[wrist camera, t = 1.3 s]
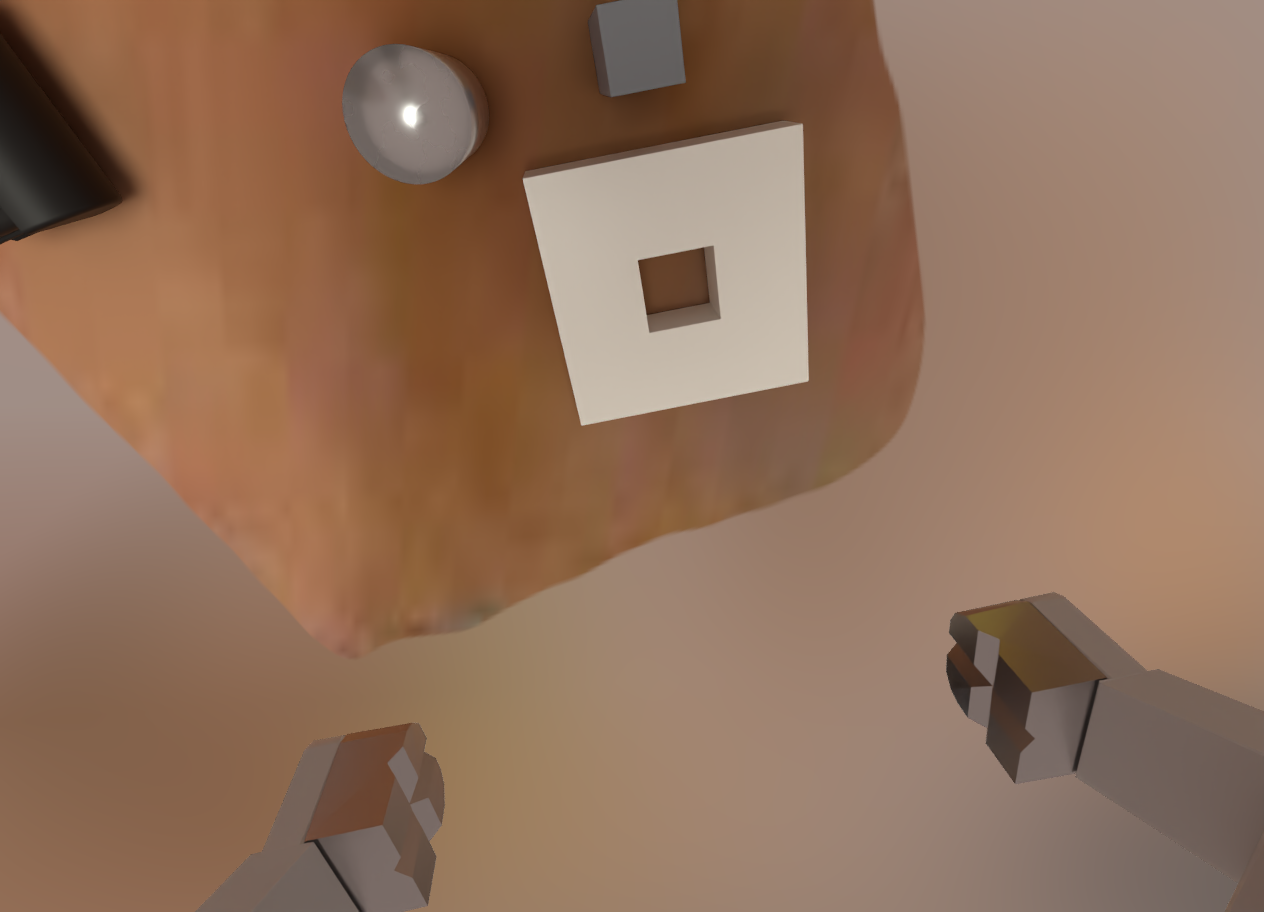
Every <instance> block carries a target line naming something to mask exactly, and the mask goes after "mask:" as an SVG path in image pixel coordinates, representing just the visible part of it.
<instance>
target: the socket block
mask: <svg viewBox="0 0 1264 912" xmlns="http://www.w3.org/2000/svg"><path fill="white" fill-rule="evenodd" d="M523 183H524V187H525V191H526V195H527V199H528V204H529V208H530V212H531V216H532V220H533V225H534V229H535V233H536V237H537V241H538V246H539V250H540V254H541V258H542V262H543V267H544V271H545V275H546V279H547V283H548V288H549V292H550V296H551V300H552V304H553V308H554V313H555V317H556V321H557V325H558V329H559V334H560V338H561V342H562V346H563V350H564V355H565V359H566V363H567V367H568V371H569V376H570V380H571V384H572V388H573V392H574V397H575V401H576V405H577V409H578V413H579V418H580V422H581V426H582V425H588V424H593V423H598V422H603V421H608V420H613V419H618V418H623V417H628V416H633V415H639V414H644V413H649V412H654V411H659V410H664V409H669V408H674V407H679V406H684V405H689V404H695V403H700V402H705V401H710V400H715V399H720V398H725V397H730V396H735V395H740V394H746V393H751V392H756V391H761V390H766V389H771V388H776V387H781V386H786V385H791V384H796V383H802V382H807V381H809V375H808V331H807V286H806V242H805V197H804V153H803V124H801V123H796V122H790V121H784V120H783V121H778V122H773V123H768V124H763V125H758V126H753V127H748V128H743V129H738V130H732V131H727V132H722V133H717V134H712V135H707V136H702V137H697V138H692V139H687V140H681V141H676V142H671V143H666V144H661V145H656V146H651V147H646V148H641V149H636V150H631V151H625V152H620V153H615V154H610V155H605V156H600V157H595V158H590V159H585V160H580V161H574V162H569V163H564V164H559V165H554V166H549V167H544V168H539V169H534V170H529V171H525V173H524V176H523ZM702 247H704V253H705V262H706V272H707V281H708V291H709V300H710V303H706V304H701V305H696V306H691V307H686V308H680V309H675V310H670V311H665V312H660V313H655V314H650V315H646V309H645V303H644V296H643V290H642V284H641V278H640V271H639V265H638V260H641V259H646V258H651V257H657V256H662V255H667V254H672V253H677V252H682V251H687V250H692V249H697V248H702Z"/></svg>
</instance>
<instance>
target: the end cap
mask: <svg viewBox="0 0 1264 912" xmlns="http://www.w3.org/2000/svg"><path fill="white" fill-rule="evenodd" d="M121 202H122V197H121V195H120V194H119V193H118V191H117V190H116V189H115V187H114V186H113V185H112V183H111V182H110V181H109V179H108V178H107V177H106V175H105V174H104V173H103V171H102V170H101V169H100V167H99V166H98V164H97V163H96V162H95V160H94V159H93V158H92V156H91V155H90V154H89V152H88V151H87V150H86V148H85V147H84V146H83V144H82V143H81V142H80V140H79V139H78V138H77V136H76V135H75V134H74V132H73V131H72V129H71V128H70V127H69V125H68V124H67V123H66V121H65V120H64V119H63V117H62V116H61V115H60V113H59V112H58V111H57V109H56V108H55V107H54V105H53V104H52V103H51V101H50V100H49V99H48V97H47V96H46V94H45V93H44V92H43V90H42V89H41V88H40V86H39V85H38V84H37V82H36V81H35V80H34V78H33V77H32V76H31V74H30V73H29V72H28V70H27V69H26V68H25V66H24V65H23V63H22V62H21V61H20V59H19V58H18V57H17V55H16V54H15V53H14V51H13V50H12V49H11V47H10V46H9V45H8V43H7V42H6V41H5V39H4V38H3V37H2V35H1V34H0V244H2V243H4V242H6V241H9V240H11V239H12V240H15V241H19V240H21V239H23V238H26V237H28V236H30V235H33V234H35V233H37V232H40V231H44V230H47V229H51V228H54V227H57V226H61V225H64V224H68V223H71V222H75V221H78V220H82V219H85V218H88V217H92V216H95V215H98V214H100V213H103V212H105V211H107V210H109V209H111V208H113V207H115V206H117V205H119V204H120V203H121Z"/></svg>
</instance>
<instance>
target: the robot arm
mask: <svg viewBox="0 0 1264 912" xmlns="http://www.w3.org/2000/svg"><path fill="white" fill-rule="evenodd" d="M949 633H950V635H951V636H952V637H953V639H954V640H955V641H956V642H957V643H956V645H955V646H954V647H953V648H952V649H951V651H950V652H949V653H948V654H947V665H946V672H947V676H948V680H949V684H950V688H951V690H952V693H953V695H954V696H955V699H956V700H957V703H958V704H959V705H960V707H961V709H962V710H963V712H964V713H965V715H966V716H967V717H968V718H969V719H971V720H973V721H975V722H976V723H978V724H980V725H982V726H984V727H986V728H987V735H986V744H987V746H988V747H989V748H990V750H991V751H992V752H993V754H994V755H995V757H996V758H997V760H998V761H999V762H1000V764H1001V765H1002V766H1003V768H1004V769H1005V771H1006V772H1007V773H1008V775H1009V776H1010V778H1011V779H1012V780H1013V782H1014V783H1015V784H1019V783H1024V782H1030V781H1036V780H1041V779H1047V778H1053V777H1059V776H1064V775H1070V774H1075V773H1076V776H1075V777H1076V778H1078V779H1079V780H1081V781H1082V782H1084V783H1086V784H1087V785H1089V786H1090V787H1092V788H1093V789H1095V790H1096V791H1098V792H1099V793H1101V794H1102V795H1104V796H1105V797H1107V798H1108V799H1110V800H1112V801H1113V802H1114V803H1116V804H1118V805H1119V806H1121V807H1122V808H1124V809H1125V810H1127V811H1128V812H1130V813H1132V814H1133V815H1134V816H1136V817H1138V818H1139V819H1141V820H1142V821H1143V822H1145V823H1147V824H1148V825H1150V826H1151V827H1153V828H1154V829H1156V830H1157V831H1159V832H1160V833H1162V834H1163V835H1165V836H1166V837H1168V838H1169V839H1171V840H1173V841H1174V842H1175V843H1177V844H1179V845H1180V846H1182V847H1183V848H1185V849H1186V850H1188V851H1189V852H1191V853H1192V854H1194V855H1195V856H1197V857H1199V858H1200V859H1201V860H1203V861H1204V862H1206V863H1208V864H1209V865H1211V866H1212V867H1214V868H1215V869H1217V870H1218V871H1220V872H1221V873H1223V874H1224V875H1226V876H1228V877H1229V878H1230V879H1232V880H1233V881H1235V882H1237V883H1238V885H1237V887H1236V889H1235V891H1234V893H1233V895H1232V897H1231V899H1230V901H1229V903H1228V905H1227V907H1226V910H1225V912H1264V711H1262V710H1259V709H1256V708H1254V707H1252V706H1249V705H1247V704H1244V703H1242V702H1239V701H1237V700H1234V699H1231V698H1229V697H1227V696H1224V695H1222V694H1219V693H1217V692H1214V691H1212V690H1209V689H1206V688H1204V687H1202V686H1199V685H1197V684H1194V683H1191V682H1189V681H1187V680H1184V679H1182V678H1179V677H1177V676H1174V675H1172V674H1169V673H1167V672H1164V671H1161V670H1159V669H1157V670H1151V671H1147V670H1146V669H1145V668H1144V667H1143V666H1141V665H1140V664H1139V663H1138V662H1137V661H1136V660H1135V659H1134V658H1132V657H1131V656H1130V655H1129V654H1128V653H1127V652H1126V651H1125V650H1124V649H1122V648H1121V647H1120V646H1119V645H1118V644H1117V643H1116V642H1115V641H1113V640H1112V639H1111V638H1110V637H1109V636H1108V635H1107V634H1106V633H1104V632H1103V631H1102V630H1101V629H1100V628H1099V627H1098V626H1097V625H1095V624H1094V623H1093V622H1092V621H1091V620H1090V619H1089V618H1088V617H1086V616H1085V615H1084V614H1083V613H1082V612H1081V611H1080V610H1079V609H1078V608H1076V607H1075V606H1074V605H1073V604H1072V603H1071V602H1070V601H1069V600H1067V599H1066V598H1065V597H1064V596H1062V595H1060V594H1057V593H1054V592H1053V593H1048V594H1043V595H1038V596H1034V597H1029V598H1025V599H1020V600H1014V601H1009V602H1005V603H1000V604H995V605H990V606H986V607H981V608H976V609H971V610H967V611H962V612H957V613H955V614H954V616H953V617H952V619H951V620H950V629H949ZM426 739H427V738H426V736H425V734H424V732H423V730H422V728H421V726H420V724H419V723H409V724H403V725H398V726H392V727H385V728H380V729H374V730H368V731H362V732H357V733H351V734H347V735H343V736H338V737H332V738H326V739H320V740H315V741H313V742H312V743H311V744H310V745H309V746H308V747H307V748H306V749H305V751H304V752H303V755H302V758H301V760H300V762H299V764H298V767H297V769H296V772H295V774H294V777H293V779H292V781H291V784H290V786H289V788H288V791H287V793H286V795H285V798H284V800H283V803H282V805H281V808H280V810H279V812H278V815H277V817H276V819H275V822H274V824H273V827H272V829H271V832H270V834H269V836H268V839H267V841H266V843H265V846H264V848H263V850H262V852H260V853H255V854H251V855H250V856H249V857H248V858H247V859H246V860H245V861H244V862H243V863H242V864H241V865H240V866H239V867H238V868H237V869H236V871H235V872H233V873H232V875H230V877H229V878H228V879H227V880H226V881H225V882H224V883H223V884H222V885H221V886H220V887H219V888H218V889H217V890H216V891H215V892H214V893H213V894H212V895H211V896H210V897H209V898H208V899H207V900H206V901H205V902H204V903H203V904H202V905H201V906H200V907H199V908H198V909H197V910H196V912H404V911H408V910H412V909H416V908H421V907H425V906H428V901H429V896H430V890H431V884H432V879H433V873H434V867H435V861H436V855H435V853H434V851H433V849H432V846H431V844H430V842H429V841H430V840H431V839H432V837H433V836H434V835H435V833H436V832H437V831H438V829H439V828H440V827H441V825H442V819H443V813H444V806H445V804H444V803H445V802H444V781H443V777H442V773H441V769H440V766H439V764H438V762H437V760H436V758H435V757H433V756H431V755H429V754H427V753H425V752H424V749H425V744H426Z"/></svg>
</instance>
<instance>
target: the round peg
mask: <svg viewBox="0 0 1264 912" xmlns="http://www.w3.org/2000/svg"><path fill="white" fill-rule="evenodd" d="M342 105H343V115H344V120H345V124H346V127H347V130H348V133H349V135H350V137H351V139H352V141H353V143H354V145H355V147H356V148H357V149H358V151H359V152H360V154H361V155H362V156H363V157H364V158H365V159H366V161H367V162H368V163H370V164H371V165H372V166H373V167H374V168H375V169H377V170H378V171H379V172H381V173H382V174H384V175H386V176H388V177H390V178H392V179H394V180H397V181H400V182H404V183H409V184H426V183H431V182H435V181H437V180H440V179H442V178H444V177H445V176H447V175H448V174H450V173H451V172H452V171H453V170H454V169H456V168H457V167H458V166H459V165H460V164H461V163H463V162H464V161H465V160H466V159H467V158H468V157H470V156H471V155H472V154H473V153H474V152H475V151H476V150H477V149H478V148H479V147H480V145H481V144H482V142H483V140H484V138H485V136H486V133H487V130H488V125H489V106H488V101H487V98H486V94H485V92H484V90H483V87H482V85H481V84H480V82H479V80H478V79H477V77H476V76H475V75H474V73H473V72H472V71H471V70H470V69H469V68H468V67H467V66H466V65H464V64H463V63H462V62H460V61H459V60H457V59H455V58H453V57H451V56H449V55H446V54H443V53H438V52H434V51H430V50H426V49H422V48H417V47H413V46H408V45H403V44H390V45H383V46H380V47H377V48H374V49H372V50H370V51H369V52H367V53H366V54H364V55H363V56H362V57H361V58H360V59H359V60H358V61H357V62H356V63H355V64H354V66H353V67H352V68H351V70H350V72H349V74H348V76H347V79H346V82H345V85H344V90H343V99H342Z"/></svg>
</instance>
